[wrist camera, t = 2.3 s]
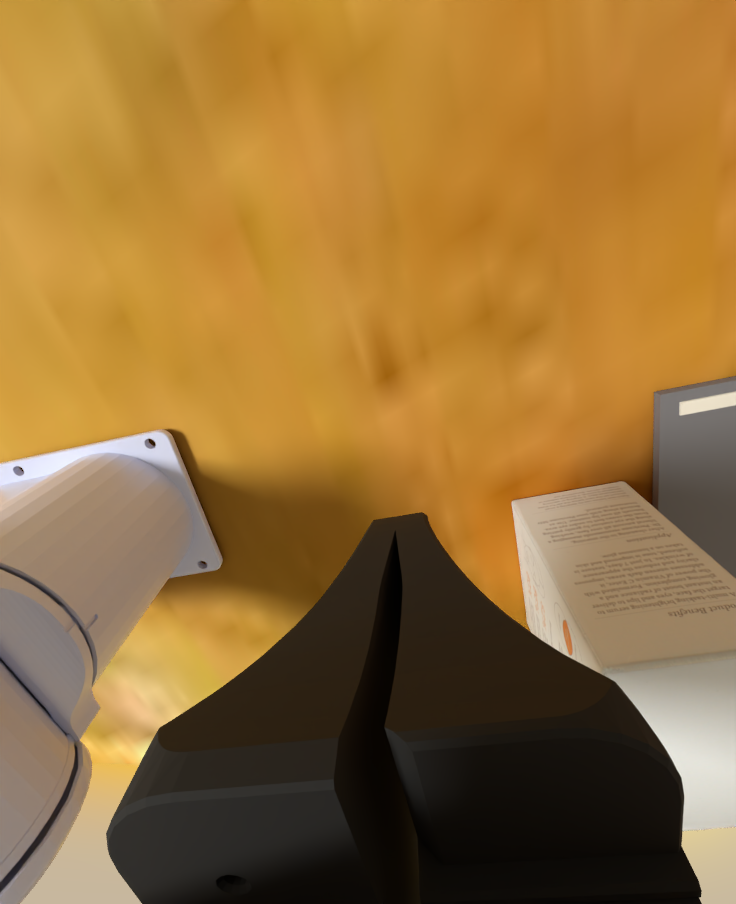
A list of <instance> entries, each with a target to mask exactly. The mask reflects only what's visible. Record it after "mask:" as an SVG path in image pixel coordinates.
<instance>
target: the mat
mask: <svg viewBox="0 0 736 904" xmlns="http://www.w3.org/2000/svg"><path fill="white" fill-rule="evenodd" d="M652 506H653V507H654V508H656V509H657V510H658V511H659V512H660V513H661V514H662V515H663V516H665V517H666V518H667V519H668V520H669V521H670V522H672V523H673V524H674V525H675V526H676V527H677V528H678V529H680V530H681V531H682V532H683V533H684V534H685V535H686V536H687V537H689V538H690V539H691V540H692V541H693V542H694V543H696V544H697V545H698V546H699V547H700V548H701V549H702V550H704V551H705V552H706V553H707V554H708V555H710V556H711V557H712V558H713V559H714V560H715V561H716V562H717V563H719V564H720V565H721V566H722V567H723V568H724V569H726V570H727V571H728V572H729V573H730V574H731V575H732V576H734V577H735V578H736V376H734V377H729V378H723V379H718V380H713V381H708V382H703V383H698V384H692V385H687V386H682V387H677V388H672V389H667V390H662V391H656V392H654V438H653V505H652Z"/></svg>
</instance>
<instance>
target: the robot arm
mask: <svg viewBox="0 0 736 904" xmlns="http://www.w3.org/2000/svg"><path fill="white" fill-rule="evenodd" d="M149 439H152V440H154V442H155V444H156V446H153V445H151V444H150V443H149ZM20 467H21V468H22V469H23V470H24V472H23V471H21V469H20ZM201 561H204V562H206V563H207V564H203V563H201ZM222 562H223V559H222V556H221V553H220V551H219V549H218V546H217V544H216V541H215V539H214V536H213V534H212V531H211V529H210V527H209V524H208V522H207V519H206V517H205V514H204V512H203V509H202V507H201V505H200V502H199V500H198V497H197V495H196V492H195V490H194V487H193V485H192V482H191V480H190V478H189V475H188V473H187V470H186V468H185V465H184V463H183V460H182V458H181V456H180V453H179V451H178V448H177V446H176V443H175V441H174V438H173V436H172V435H171V433H169V432H168V431H166V430H163V429H160V430H155V431H150V432H145V433H140V434H136V435H131V436H126V437H121V438H117V439H112V440H107V441H102V442H98V443H93V444H88V445H83V446H78V447H74V448H69V449H64V450H59V451H55V452H50V453H45V454H40V455H36V456H31V457H26V458H21V459H17V460H12V461H7V462H2V463H0V904H20V903H21V902H22V901H23V899H24V898H25V897H26V896H27V895H28V893H29V892H30V891H31V890H32V889H33V887H34V886H35V885H36V884H37V882H38V881H39V880H40V878H41V877H42V875H43V874H44V873H45V871H46V870H47V869H48V867H49V866H50V864H51V863H52V861H53V860H54V858H55V857H56V855H57V853H58V852H59V850H60V849H61V847H62V845H63V843H64V841H65V840H66V838H67V836H68V834H69V832H70V830H71V828H72V826H73V824H74V822H75V820H76V818H77V816H78V814H79V812H80V810H81V807H82V804H83V802H84V799H85V797H86V794H87V791H88V788H89V784H90V779H91V773H92V761H91V757H90V753H89V751H88V749H87V748H86V746H85V745H84V744H83V743H82V742H81V741H79V740H80V739H81V737H82V736H83V734H84V733H85V731H86V730H87V728H88V726H89V725H90V723H91V722H92V720H93V719H94V717H95V716H96V714H97V713H98V711H99V710H100V706H99V704H98V703H97V701H96V700H95V698H94V696H93V693H92V687H93V685H94V684H95V682H96V681H97V680H98V678H99V677H100V675H101V674H102V672H103V671H104V670H105V668H106V667H107V665H108V664H109V663H110V661H111V660H112V658H113V657H114V655H115V654H116V653H117V651H118V650H119V648H120V647H121V645H122V644H123V643H124V641H125V640H126V638H127V637H128V636H129V634H130V633H131V631H132V630H133V628H134V627H135V626H136V624H137V623H138V621H139V620H140V618H141V617H142V616H143V614H144V613H145V611H146V610H147V609H148V607H149V606H150V604H151V603H152V601H153V600H154V599H155V597H156V596H157V594H158V593H159V591H160V590H161V589H162V587H163V586H164V584H165V583H166V581H167V580H168V579H169V578H173V577H179V576H185V575H191V574H197V573H203V572H209V571H215V570H218V569H219V568H220V566H221V565H222ZM683 811H684V790H683V784H682V778H681V776H680V774H679V772H678V771H677V769H676V767H675V765H674V763H673V761H672V759H671V757H670V755H669V754H668V752H667V750H666V749H665V747H664V746H663V744H662V743H661V741H660V740H659V738H658V737H657V735H656V734H655V733H654V731H653V730H652V728H651V727H650V725H649V724H648V723H647V721H646V720H645V719H644V717H643V716H642V714H641V713H640V712H639V710H638V709H637V708H636V706H635V705H634V704H633V703H632V701H631V700H630V699H629V698H628V696H627V695H626V694H625V693H624V691H623V690H622V689H621V688H620V687H619V685H618V684H617V683H616V682H615V681H613V680H611V679H610V678H608V677H606V676H604V675H602V674H600V673H598V672H596V671H594V670H593V669H591V668H589V667H587V666H585V665H583V664H581V663H579V662H577V661H576V660H574V659H572V658H570V657H568V656H566V655H564V654H563V653H561V652H559V651H558V650H556V649H555V648H553V647H552V646H550V645H548V644H547V643H545V642H544V641H542V640H541V639H539V638H538V637H537V636H535V635H534V634H533V633H531V632H530V631H528V630H527V629H526V628H524V627H523V626H522V625H520V624H519V623H517V622H516V621H515V620H513V619H512V618H511V617H509V616H508V615H507V614H506V613H504V612H503V611H502V610H501V609H500V608H499V607H497V606H496V605H495V604H494V603H493V602H492V601H491V600H489V599H488V598H487V597H486V596H485V595H484V594H483V593H482V592H481V591H480V590H479V589H478V588H477V587H476V586H475V585H474V584H473V583H472V582H471V581H470V580H469V579H468V578H467V577H466V575H465V574H464V573H463V572H462V571H461V570H460V569H459V567H458V566H457V565H456V564H455V562H454V561H453V560H452V559H451V557H450V556H449V555H448V553H447V552H446V551H445V549H444V548H443V546H442V545H441V544H440V542H439V540H438V539H437V537H436V535H435V534H434V532H433V530H432V528H431V526H430V524H429V521H428V517H427V515H425V514H424V513H422V512H421V513H415V514H409V515H403V516H397V517H391V518H385V519H378V520H374V521H373V522H372V523H371V525H370V526H369V528H368V530H367V531H366V533H365V535H364V537H363V538H362V540H361V542H360V543H359V545H358V546H357V548H356V550H355V551H354V553H353V554H352V556H351V557H350V559H349V560H348V562H347V563H346V565H345V566H344V568H343V569H342V571H341V572H340V574H339V575H338V576H337V578H336V579H335V580H334V582H333V583H332V584H331V586H330V587H329V588H328V590H327V591H326V592H325V594H324V595H323V596H322V597H321V599H320V600H319V601H318V602H317V603H316V604H315V606H314V607H313V608H312V609H311V610H310V611H309V612H308V613H307V614H306V615H305V616H304V617H303V618H302V620H301V621H300V622H299V623H298V624H297V625H296V626H295V627H294V628H293V629H291V630H290V631H289V632H288V633H287V634H286V635H285V636H284V637H283V638H282V639H281V640H279V641H278V642H277V643H276V644H275V645H274V646H273V647H272V648H271V649H270V650H268V651H267V652H266V653H265V654H264V655H263V656H262V657H260V658H259V659H258V660H257V661H255V662H254V663H253V664H252V665H250V666H249V667H248V668H247V669H245V670H244V671H243V672H242V673H240V674H239V675H238V676H236V677H235V678H234V679H232V680H231V681H230V682H228V683H227V684H226V685H224V686H223V687H221V688H220V689H219V690H217V691H216V692H214V693H213V694H212V695H210V696H208V697H207V698H205V699H204V700H202V701H201V702H199V703H198V704H196V705H195V706H193V707H192V708H190V709H189V710H187V711H185V712H184V713H182V714H181V715H179V716H178V717H176V718H175V719H173V720H172V721H170V722H168V723H167V724H165V725H163V726H162V727H160V728H159V730H158V731H157V733H156V735H155V737H154V739H153V740H152V742H151V744H150V746H149V748H148V750H147V751H146V753H145V755H144V757H143V759H142V761H141V763H140V765H139V767H138V769H137V771H136V773H135V775H134V777H133V779H132V781H131V783H130V785H129V787H128V789H127V790H126V792H125V794H124V796H123V798H122V800H121V803H120V804H119V806H118V808H117V810H116V812H115V814H114V816H113V818H112V820H111V823H110V825H109V828H108V830H107V833H106V835H107V845H108V851H109V855H110V857H111V859H112V861H113V863H114V865H115V866H116V869H117V870H118V872H119V873H120V875H121V876H122V877H123V879H124V880H125V881H126V882H127V884H128V885H129V887H130V888H131V889H132V891H133V892H134V893H135V895H136V896H137V897H138V899H139V900H140V901H141V903H142V904H702V903H701V901H700V899H699V897H701V888H700V885H699V881H698V879H697V877H696V875H695V873H694V871H693V869H692V867H691V865H690V863H689V861H688V859H687V857H686V855H685V853H684V851H683V849H682V847H681V842H682V827H683Z"/></svg>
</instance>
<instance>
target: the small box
mask: <svg viewBox="0 0 736 904" xmlns="http://www.w3.org/2000/svg"><path fill="white" fill-rule="evenodd" d="M512 510H513V517H514V524H515V532H516V540H517V547H518V555H519V562H520V570H521V578H522V586H523V593H524V600H525V608H526V617H527V623H528V626H529V629H530V631H531V633H533V634H534V635H535V636H537V637H538V638H539V639H541V640H542V641H544V642H545V643H547V644H548V645H550V646H552V647H553V648H555V649H556V650H558V651H559V652H561V653H563V654H564V655H566V656H568V657H570V658H572V659H574V660H576V661H577V662H579V663H581V664H583V665H585V666H587V667H589V668H591V669H593V670H594V671H596V672H598V673H600V674H602V675H604V676H606V677H608V678H610V679H611V680H613V681H615V682H616V683H617V684H618V685H619V687H620V688H621V689H622V690H623V691H624V693H625V694H626V695H627V696H628V698H629V699H630V700H631V701H632V703H633V704H634V705H635V706H636V708H637V709H638V710H639V712H640V713H641V714H642V716H643V717H644V719H645V720H646V721H647V723H648V724H649V725H650V727H651V728H652V730H653V731H654V733H655V734H656V735H657V737H658V738H659V740H660V741H661V743H662V744H663V746H664V747H665V749H666V750H667V752H668V754H669V755H670V757H671V759H672V761H673V763H674V765H675V767H676V769H677V771H678V772H679V774H680V776H681V778H682V784H683V790H684V811H683V827H682V831H691V830H705V829H716V828H728V827H736V578H735V577H734V576H732V575H731V574H730V573H729V572H728V571H727V570H726V569H724V568H723V567H722V566H721V565H720V564H719V563H717V562H716V561H715V560H714V559H713V558H712V557H711V556H710V555H708V554H707V553H706V552H705V551H704V550H702V549H701V548H700V547H699V546H698V545H697V544H696V543H694V542H693V541H692V540H691V539H690V538H689V537H687V536H686V535H685V534H684V533H683V532H682V531H681V530H680V529H678V528H677V527H676V526H675V525H674V524H673V523H672V522H670V521H669V520H668V519H667V518H666V517H665V516H663V515H662V514H661V513H660V512H659V511H658V510H657V509H656V508H654V507H653V506H652V505H651V504H650V503H649V502H647V501H646V500H645V499H644V498H643V497H642V496H640V495H639V494H638V493H637V492H636V491H635V490H634V489H633V488H631V487H630V486H629V485H628V484H627V483H626V482H623V481H620V482H615V483H609V484H604V485H598V486H592V487H586V488H580V489H574V490H569V491H563V492H557V493H552V494H546V495H540V496H535V497H529V498H524V499H518V500H514V501H512Z"/></svg>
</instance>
